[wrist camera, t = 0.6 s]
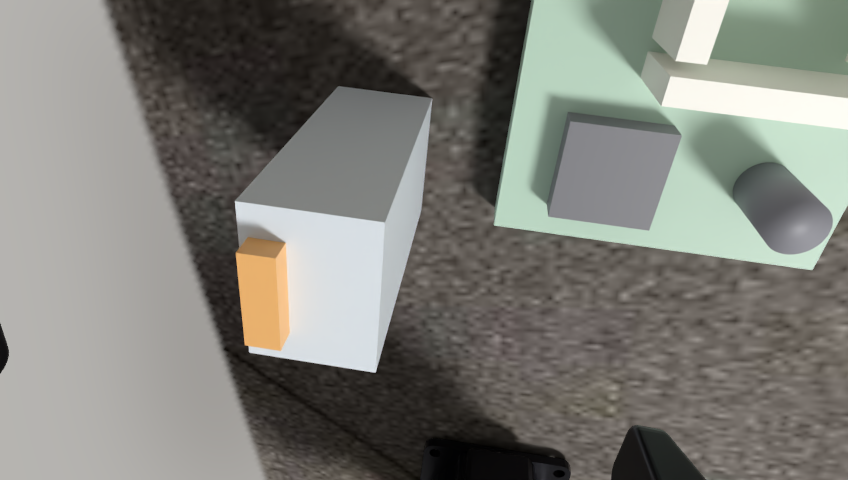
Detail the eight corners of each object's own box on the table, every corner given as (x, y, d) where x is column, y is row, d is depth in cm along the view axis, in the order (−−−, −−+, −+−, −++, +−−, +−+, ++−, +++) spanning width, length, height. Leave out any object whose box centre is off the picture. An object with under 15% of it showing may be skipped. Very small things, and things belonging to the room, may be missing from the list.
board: (795, 249, 19) (853, 320, 16) (494, 208, 20) (492, 267, 16) (1093, -330, 12) (1311, -414, 8) (595, -369, 12) (626, -460, 9)
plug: (421, 210, 20) (370, 392, 13) (337, 198, 20) (238, 370, 13) (432, 98, 18) (379, 238, 11) (338, 86, 18) (221, 215, 11)
